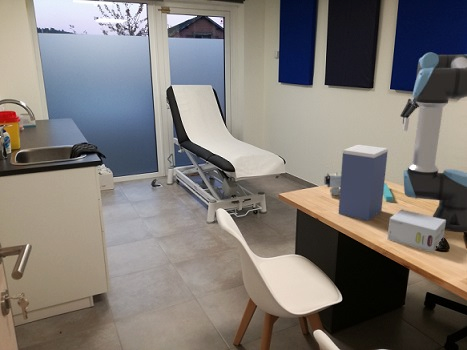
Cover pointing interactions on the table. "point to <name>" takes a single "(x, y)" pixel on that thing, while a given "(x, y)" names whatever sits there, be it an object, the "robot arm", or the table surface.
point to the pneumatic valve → (333, 183)
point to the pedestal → (362, 181)
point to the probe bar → (387, 193)
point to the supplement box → (416, 230)
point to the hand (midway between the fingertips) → (416, 130)
